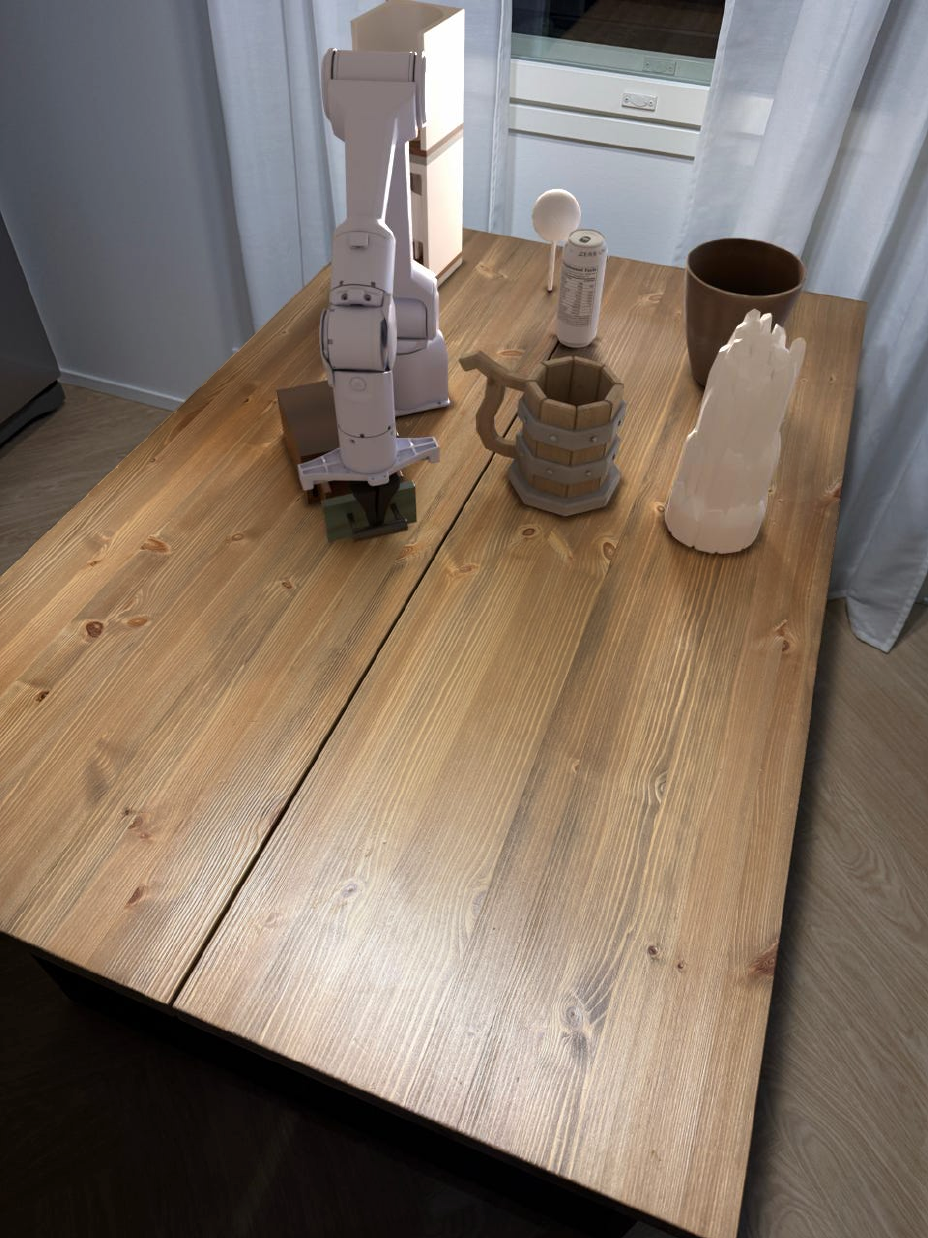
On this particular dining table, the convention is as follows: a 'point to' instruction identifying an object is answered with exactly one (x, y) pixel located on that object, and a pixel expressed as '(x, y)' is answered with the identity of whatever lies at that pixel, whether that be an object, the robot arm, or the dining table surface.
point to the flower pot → (735, 293)
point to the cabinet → (309, 424)
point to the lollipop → (555, 220)
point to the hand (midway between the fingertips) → (375, 522)
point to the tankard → (556, 430)
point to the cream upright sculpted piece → (735, 440)
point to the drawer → (350, 517)
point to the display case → (442, 137)
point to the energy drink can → (580, 287)
